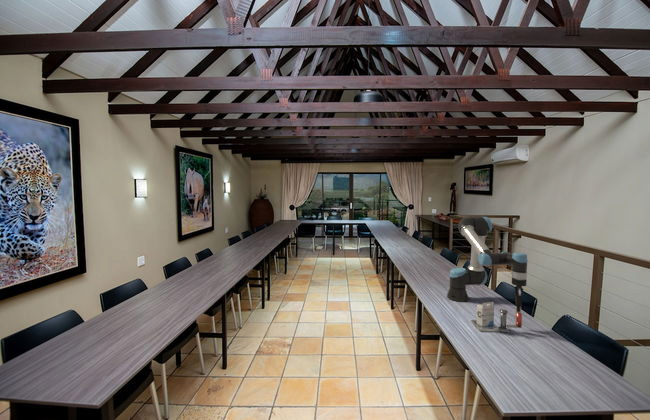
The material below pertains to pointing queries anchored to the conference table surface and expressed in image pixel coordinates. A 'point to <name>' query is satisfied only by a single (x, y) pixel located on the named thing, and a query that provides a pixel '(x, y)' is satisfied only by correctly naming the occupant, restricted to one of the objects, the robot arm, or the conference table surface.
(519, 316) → the lever
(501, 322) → the press
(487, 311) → the ink box
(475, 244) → the robot arm
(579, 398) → the conference table surface
